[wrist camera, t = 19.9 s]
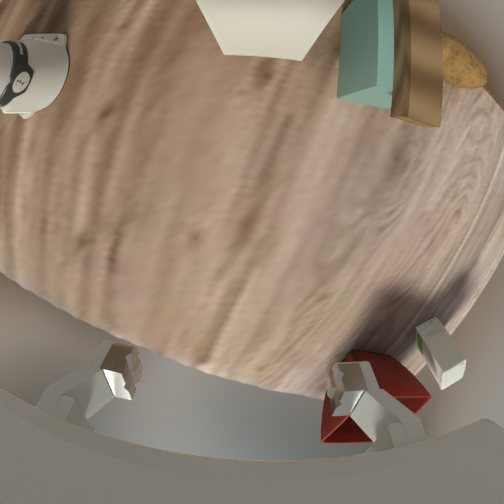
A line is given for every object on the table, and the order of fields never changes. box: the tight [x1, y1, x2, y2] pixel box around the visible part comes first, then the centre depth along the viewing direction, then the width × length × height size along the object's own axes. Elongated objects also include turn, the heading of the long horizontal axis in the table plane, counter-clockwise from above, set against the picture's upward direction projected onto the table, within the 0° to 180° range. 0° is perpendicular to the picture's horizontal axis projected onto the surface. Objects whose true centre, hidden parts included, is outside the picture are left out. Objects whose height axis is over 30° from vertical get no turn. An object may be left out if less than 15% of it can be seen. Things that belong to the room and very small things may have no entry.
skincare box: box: [415, 316, 466, 390], centre depth 50 cm, size 8×7×16 cm
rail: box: [390, 0, 443, 127], centre depth 18 cm, size 22×4×4 cm, turn 176°
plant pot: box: [321, 350, 431, 443], centre depth 54 cm, size 19×19×17 cm
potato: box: [442, 33, 487, 89], centre depth 29 cm, size 10×14×8 cm
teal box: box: [337, 0, 394, 109], centre depth 27 cm, size 8×16×16 cm, turn 176°
